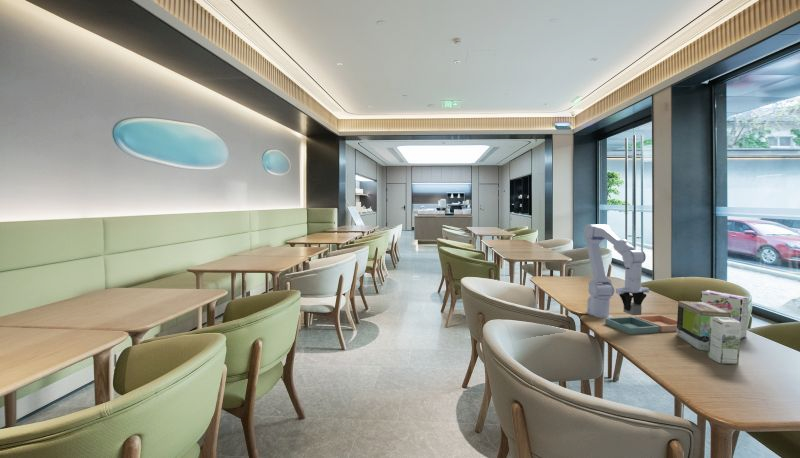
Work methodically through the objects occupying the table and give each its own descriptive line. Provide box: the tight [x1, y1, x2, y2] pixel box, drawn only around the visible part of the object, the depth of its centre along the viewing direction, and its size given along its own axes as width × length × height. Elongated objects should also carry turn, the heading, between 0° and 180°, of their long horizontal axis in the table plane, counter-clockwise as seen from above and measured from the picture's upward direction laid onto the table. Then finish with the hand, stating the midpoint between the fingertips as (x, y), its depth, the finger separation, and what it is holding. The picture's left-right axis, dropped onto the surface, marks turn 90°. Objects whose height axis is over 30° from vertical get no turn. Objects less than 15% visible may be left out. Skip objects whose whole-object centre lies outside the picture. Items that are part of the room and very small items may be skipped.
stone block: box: [623, 301, 643, 316], centre depth 152 cm, size 5×4×4 cm
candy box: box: [700, 289, 750, 340], centre depth 148 cm, size 14×6×16 cm, turn 25°
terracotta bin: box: [634, 314, 677, 333], centre depth 156 cm, size 14×14×3 cm
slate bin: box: [604, 316, 660, 336], centre depth 153 cm, size 14×14×3 cm
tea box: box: [676, 300, 731, 352], centre depth 136 cm, size 15×10×15 cm, turn 168°
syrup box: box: [707, 317, 741, 365], centre depth 121 cm, size 6×6×14 cm
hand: (631, 309), depth 153 cm, fingers closed on stone block, 4 cm apart
